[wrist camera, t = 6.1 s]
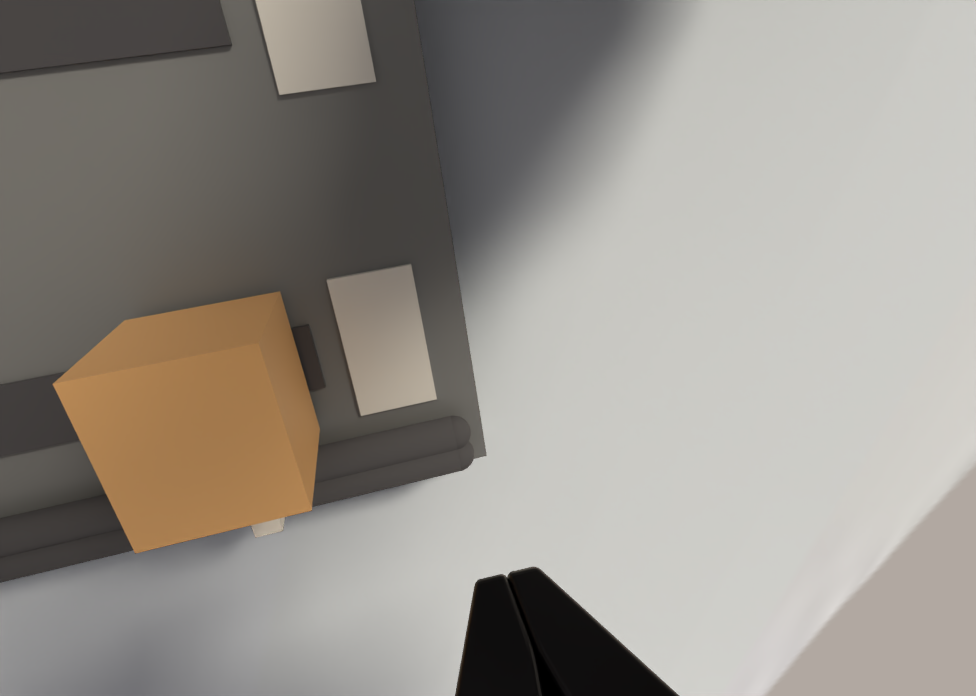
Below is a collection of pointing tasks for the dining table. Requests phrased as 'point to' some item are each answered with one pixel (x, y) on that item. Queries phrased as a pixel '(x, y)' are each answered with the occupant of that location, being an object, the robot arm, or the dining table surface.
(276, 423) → the block
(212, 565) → the dining table surface
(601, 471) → the dining table surface
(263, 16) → the breaker panel
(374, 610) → the dining table surface
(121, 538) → the cord bundle
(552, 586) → the robot arm
